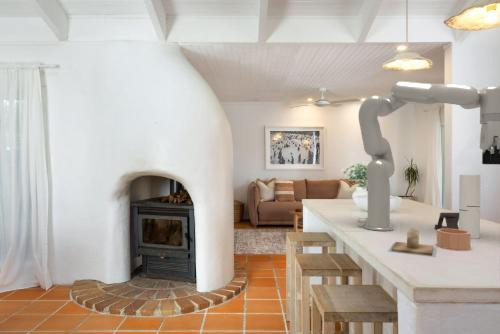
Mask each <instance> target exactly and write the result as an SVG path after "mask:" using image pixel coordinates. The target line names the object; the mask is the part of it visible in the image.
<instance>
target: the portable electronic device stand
mask: <svg viewBox="0 0 500 334" xmlns="http://www.w3.org/2000/svg"><path fill="white" fill-rule="evenodd" d="M444 219H445V225H446V226H445V225H443V224H444ZM434 229H435V230H436V231H437V229H459V212H440V213H439V217H438V221H437V224H434Z"/></svg>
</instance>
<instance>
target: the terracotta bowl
mask: <svg viewBox="0 0 500 334" xmlns="http://www.w3.org/2000/svg"><path fill="white" fill-rule="evenodd" d="M436 247H438V248H441V249H444V250H449V251H458V252H462V251H464V252H465V251H470V250H471V238H470V232H468V231H465V230H459V229H437V230H436Z"/></svg>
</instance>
